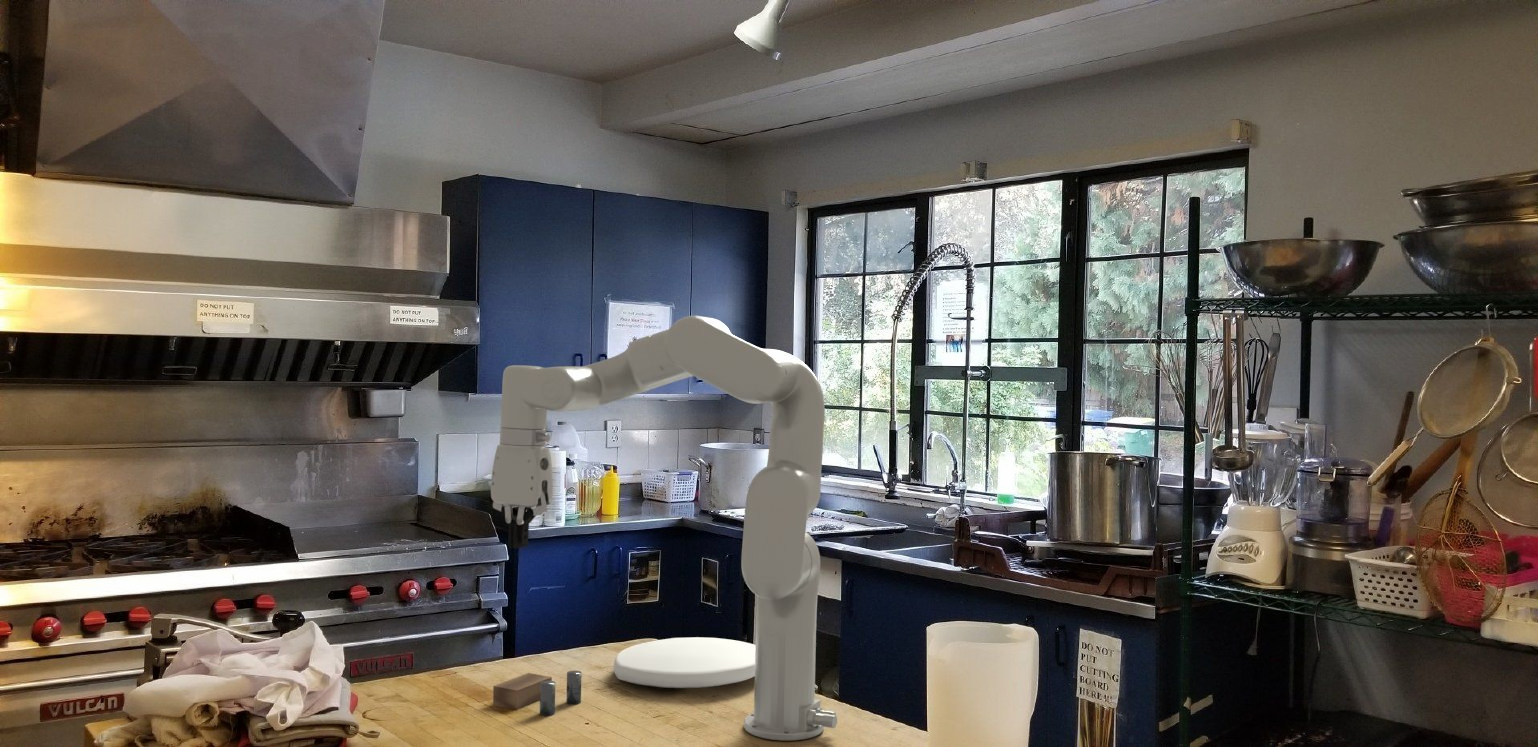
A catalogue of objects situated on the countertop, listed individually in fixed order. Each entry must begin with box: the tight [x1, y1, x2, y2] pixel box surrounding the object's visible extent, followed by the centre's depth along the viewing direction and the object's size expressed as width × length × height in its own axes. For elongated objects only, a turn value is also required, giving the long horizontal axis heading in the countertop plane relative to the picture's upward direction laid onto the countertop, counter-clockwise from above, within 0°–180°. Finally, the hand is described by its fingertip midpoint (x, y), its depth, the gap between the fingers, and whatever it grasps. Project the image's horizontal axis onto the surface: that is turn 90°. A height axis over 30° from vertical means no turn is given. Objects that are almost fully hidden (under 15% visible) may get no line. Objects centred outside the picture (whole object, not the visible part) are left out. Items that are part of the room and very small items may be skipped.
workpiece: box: [492, 672, 553, 711], centre depth 185 cm, size 5×9×4 cm, turn 153°
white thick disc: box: [613, 636, 755, 689], centre depth 201 cm, size 28×6×27 cm
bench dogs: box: [539, 670, 582, 717], centre depth 181 cm, size 2×9×5 cm, turn 153°
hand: (517, 546), depth 185 cm, fingers closed
